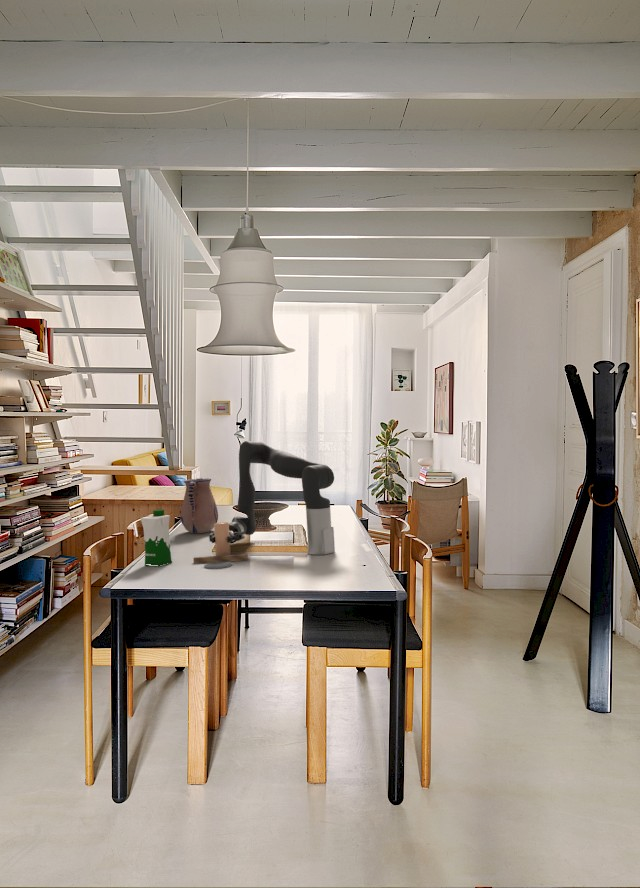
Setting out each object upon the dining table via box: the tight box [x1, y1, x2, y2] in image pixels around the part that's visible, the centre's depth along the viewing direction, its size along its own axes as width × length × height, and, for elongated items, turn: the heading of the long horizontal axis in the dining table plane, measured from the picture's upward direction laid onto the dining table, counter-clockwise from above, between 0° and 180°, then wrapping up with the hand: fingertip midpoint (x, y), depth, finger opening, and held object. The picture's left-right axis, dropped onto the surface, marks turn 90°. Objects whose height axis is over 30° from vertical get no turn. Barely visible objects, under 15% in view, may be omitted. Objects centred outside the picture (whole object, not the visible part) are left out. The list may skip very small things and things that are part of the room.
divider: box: [192, 553, 249, 564], centre depth 267 cm, size 20×2×2 cm, turn 91°
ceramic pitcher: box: [180, 477, 219, 535], centre depth 337 cm, size 18×21×25 cm
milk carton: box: [140, 509, 172, 567], centre depth 268 cm, size 9×9×20 cm
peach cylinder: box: [213, 521, 232, 556], centre depth 275 cm, size 6×6×13 cm
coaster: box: [203, 561, 233, 570], centre depth 260 cm, size 10×10×1 cm
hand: (220, 540), depth 272 cm, fingers closed on peach cylinder, 5 cm apart
